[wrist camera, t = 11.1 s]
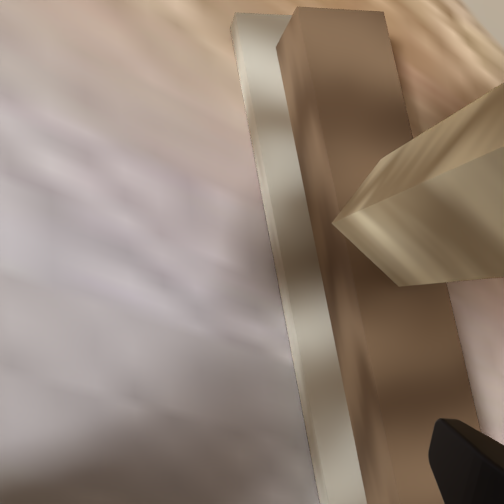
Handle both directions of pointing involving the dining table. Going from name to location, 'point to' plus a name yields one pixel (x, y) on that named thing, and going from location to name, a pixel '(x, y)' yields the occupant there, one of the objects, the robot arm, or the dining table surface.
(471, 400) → the ridge stand
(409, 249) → the ash post
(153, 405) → the dining table surface
